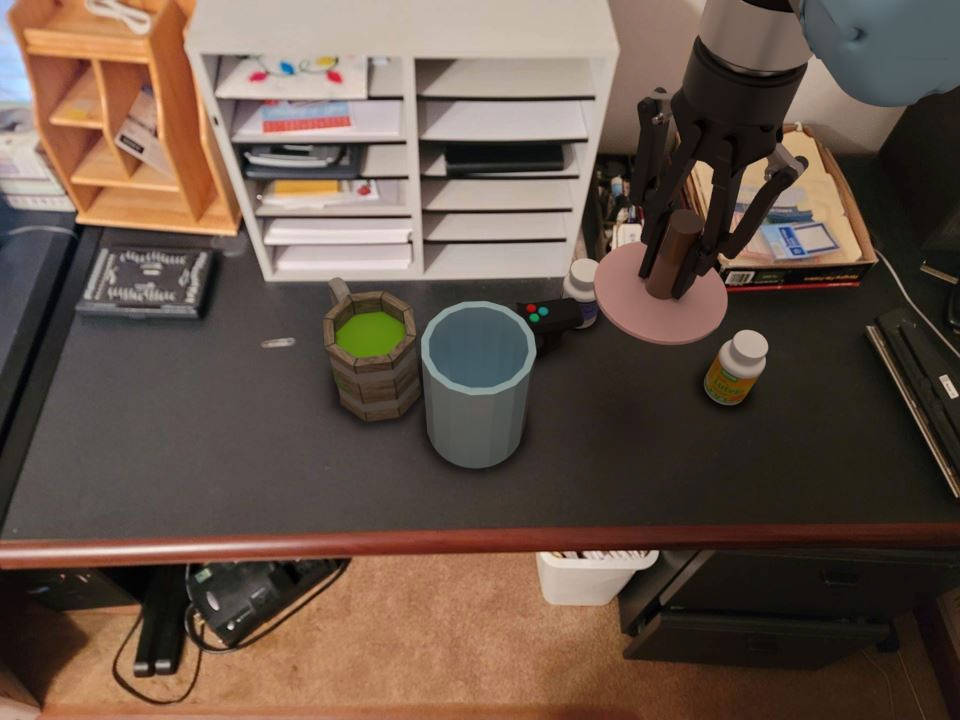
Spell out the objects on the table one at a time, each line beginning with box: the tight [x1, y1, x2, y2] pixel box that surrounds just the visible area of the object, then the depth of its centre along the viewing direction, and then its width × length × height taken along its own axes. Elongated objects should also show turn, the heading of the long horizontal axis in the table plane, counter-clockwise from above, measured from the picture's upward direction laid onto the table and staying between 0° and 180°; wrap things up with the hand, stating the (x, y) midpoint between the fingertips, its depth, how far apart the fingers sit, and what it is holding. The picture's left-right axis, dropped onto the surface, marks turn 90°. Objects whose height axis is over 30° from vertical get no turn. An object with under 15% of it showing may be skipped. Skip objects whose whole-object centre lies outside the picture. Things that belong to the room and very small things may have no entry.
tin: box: [420, 300, 537, 469], centre depth 77 cm, size 12×12×16 cm
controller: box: [500, 297, 584, 358], centre depth 87 cm, size 4×12×10 cm, turn 103°
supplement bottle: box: [703, 329, 769, 406], centre depth 84 cm, size 5×5×10 cm
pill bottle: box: [559, 257, 600, 329], centre depth 91 cm, size 5×5×9 cm
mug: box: [322, 276, 422, 423], centre depth 83 cm, size 16×11×12 cm
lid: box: [593, 208, 729, 346], centre depth 63 cm, size 13×13×10 cm
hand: (665, 279), depth 65 cm, fingers closed on lid, 3 cm apart
